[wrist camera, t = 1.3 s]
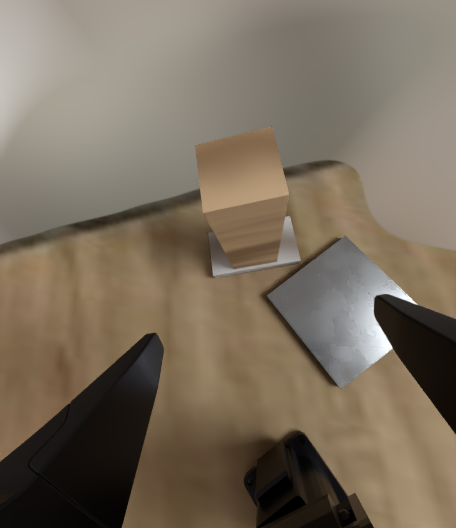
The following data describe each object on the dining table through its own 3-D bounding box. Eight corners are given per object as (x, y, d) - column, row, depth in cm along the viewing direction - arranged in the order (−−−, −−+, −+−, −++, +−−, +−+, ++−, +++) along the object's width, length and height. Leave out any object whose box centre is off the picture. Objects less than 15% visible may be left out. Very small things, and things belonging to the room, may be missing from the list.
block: (299, 263, 23) (339, 189, 10) (215, 278, 24) (161, 227, 11) (288, 221, 24) (313, 111, 12) (210, 236, 25) (157, 150, 13)
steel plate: (424, 318, 20) (431, 317, 19) (338, 386, 19) (340, 389, 19) (342, 238, 23) (345, 235, 22) (266, 296, 23) (266, 295, 22)
